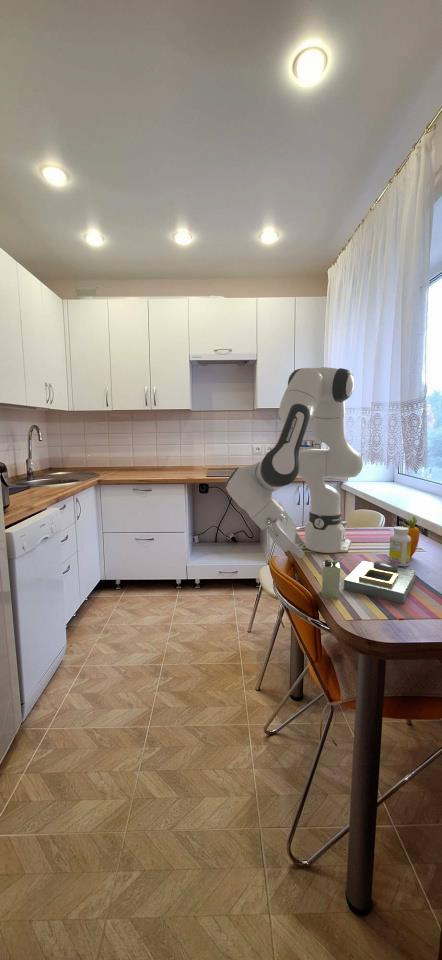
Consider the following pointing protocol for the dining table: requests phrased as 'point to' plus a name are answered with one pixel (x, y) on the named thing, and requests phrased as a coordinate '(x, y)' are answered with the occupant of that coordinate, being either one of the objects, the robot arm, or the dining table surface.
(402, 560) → the supplement bottle
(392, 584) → the grey base plate
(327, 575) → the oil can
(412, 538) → the carrot
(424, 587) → the dining table surface
